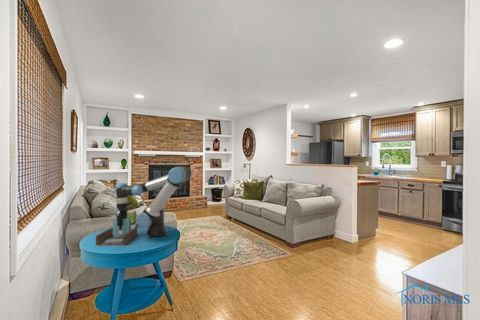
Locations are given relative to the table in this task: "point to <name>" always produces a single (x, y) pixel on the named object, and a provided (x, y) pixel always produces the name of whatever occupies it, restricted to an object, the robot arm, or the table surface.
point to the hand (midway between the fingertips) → (122, 233)
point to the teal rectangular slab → (126, 227)
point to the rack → (109, 235)
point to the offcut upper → (114, 241)
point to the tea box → (131, 215)
